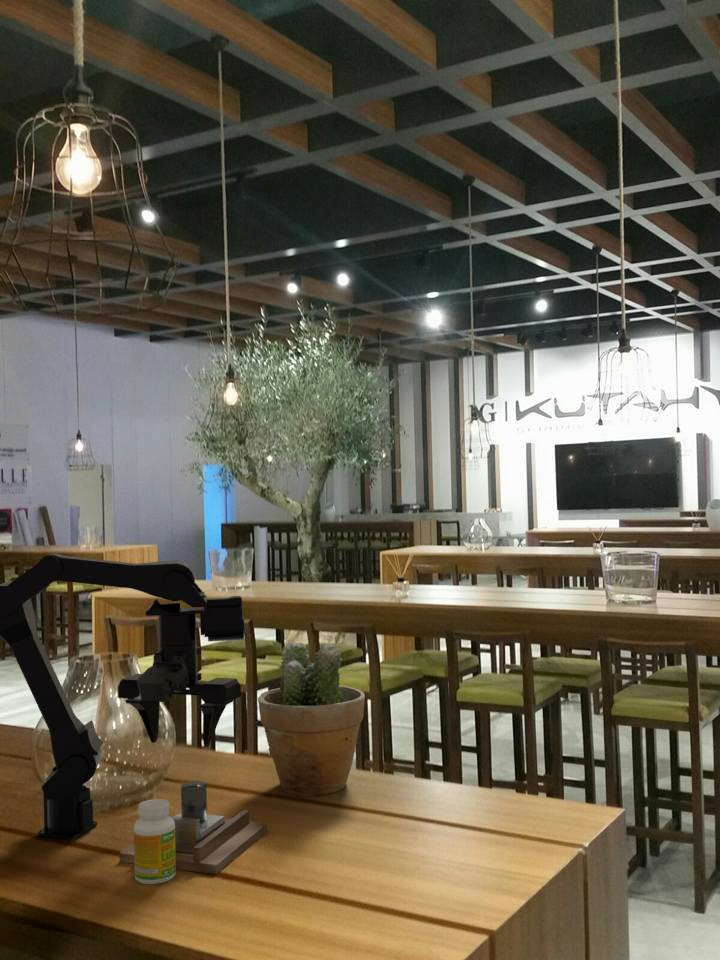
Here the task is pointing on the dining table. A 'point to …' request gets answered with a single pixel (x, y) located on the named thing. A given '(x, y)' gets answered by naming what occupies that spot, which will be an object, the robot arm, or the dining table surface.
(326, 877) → the dining table surface
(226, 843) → the press bed
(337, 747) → the potted plant
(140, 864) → the supplement bottle
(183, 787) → the metal press slider
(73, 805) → the robot arm
